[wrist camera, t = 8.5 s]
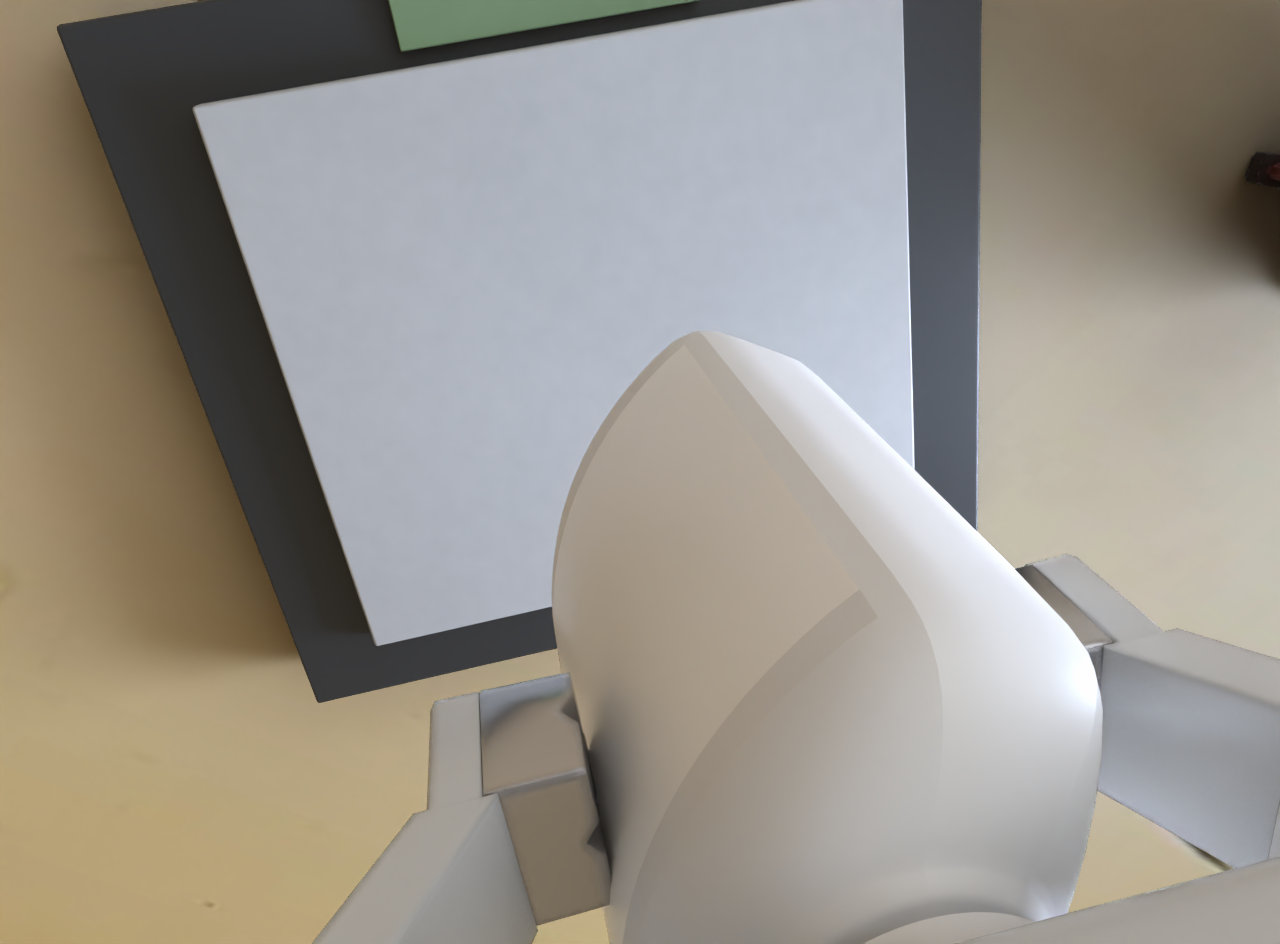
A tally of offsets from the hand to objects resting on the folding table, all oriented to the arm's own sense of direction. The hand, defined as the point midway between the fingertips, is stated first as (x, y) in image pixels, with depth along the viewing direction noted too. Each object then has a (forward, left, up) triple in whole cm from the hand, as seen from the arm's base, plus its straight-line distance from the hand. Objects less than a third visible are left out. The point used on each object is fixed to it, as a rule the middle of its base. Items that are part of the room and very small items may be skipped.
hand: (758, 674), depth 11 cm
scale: (0, 0, -14) cm, 14 cm away
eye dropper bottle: (0, 0, -5) cm, 5 cm away
